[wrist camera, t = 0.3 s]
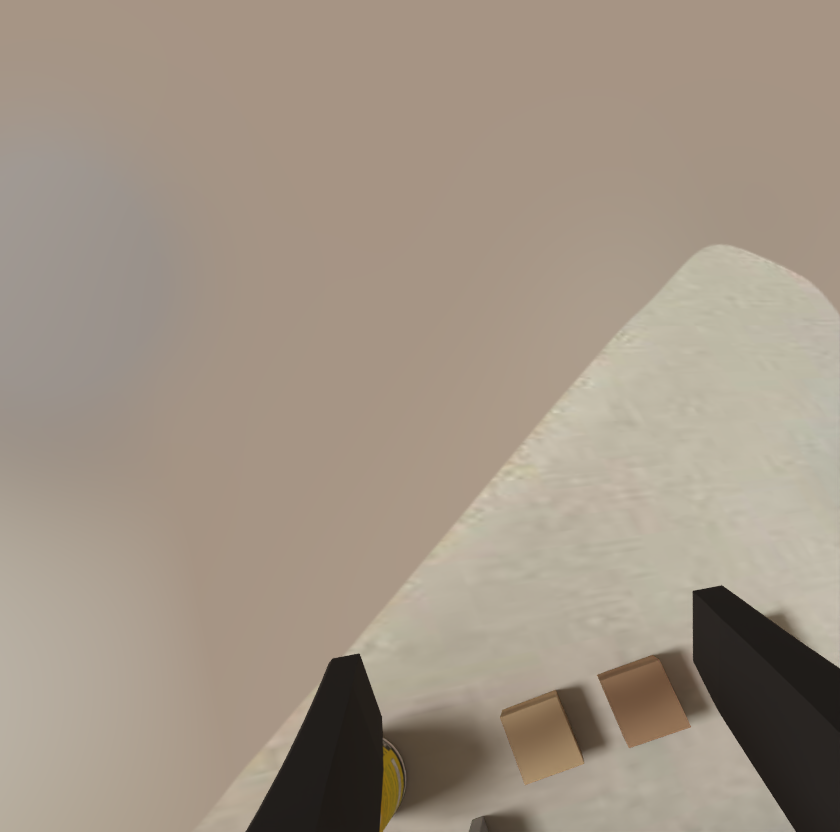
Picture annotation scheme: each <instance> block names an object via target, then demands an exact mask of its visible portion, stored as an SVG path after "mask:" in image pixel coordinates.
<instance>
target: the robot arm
mask: <svg viewBox="0 0 840 832" xmlns="http://www.w3.org/2000/svg"><path fill="white" fill-rule="evenodd" d="M693 662H694V664H695V666H696V668H697V670H698V672H699V674H700V676H701V678H702V680H703V682H704V684H705V686H706V688H707V690H708V692H709V694H710V696H711V698H712V700H713V702H714V703H715V705H716V707H717V709H718V711H719V713H720V714H721V716H722V717H723V719H724V721H725V722H726V724H727V725H728V727H729V729H730V730H731V732H732V733H733V735H734V736H735V738H736V740H737V741H738V743H739V744H740V746H741V747H742V749H743V750H744V752H745V754H746V755H747V757H748V758H749V760H750V761H751V763H752V764H753V766H754V767H755V769H756V771H757V772H758V774H759V775H760V777H761V778H762V780H763V781H764V783H765V784H766V786H767V788H768V789H769V791H770V792H771V794H772V795H773V797H774V798H775V800H776V802H777V803H778V805H779V806H780V808H781V809H782V811H783V812H784V814H785V815H786V817H787V819H788V820H789V822H790V823H791V825H792V826H793V828H794V829H795V831H796V832H840V668H838V667H837V666H835V665H834V664H833V663H831V662H830V661H828V660H827V659H825V658H824V657H822V656H821V655H819V654H818V653H816V652H815V651H813V650H812V649H810V648H809V647H807V646H806V645H805V644H803V643H802V642H800V641H799V640H797V639H796V638H795V637H793V636H792V635H790V634H789V633H787V632H786V631H785V630H783V629H782V628H780V627H779V626H778V625H776V624H775V623H773V622H772V621H771V620H769V619H768V618H767V617H765V616H764V615H762V614H761V613H760V612H758V611H757V610H755V609H754V608H753V607H751V606H750V605H749V604H747V603H746V602H745V601H743V600H742V599H740V598H739V597H738V596H736V595H735V594H733V593H732V592H731V591H729V590H728V589H726V588H725V587H724V586H717V587H711V588H706V589H701V590H695V591H693ZM383 771H384V766H383V732H382V716H381V713H380V710H379V707H378V705H377V702H376V699H375V696H374V693H373V690H372V688H371V685H370V682H369V679H368V676H367V673H366V670H365V668H364V665H363V662H362V659H361V656H360V654H354V655H349V656H344V657H338V658H333V659H332V660H331V661H330V662H329V664H328V667H327V669H326V672H325V674H324V676H323V679H322V681H321V683H320V686H319V688H318V691H317V693H316V695H315V697H314V700H313V702H312V704H311V706H310V709H309V711H308V713H307V715H306V717H305V720H304V722H303V724H302V726H301V728H300V730H299V732H298V734H297V736H296V738H295V741H294V743H293V745H292V747H291V749H290V751H289V753H288V755H287V757H286V759H285V761H284V763H283V765H282V767H281V769H280V771H279V773H278V774H277V776H276V778H275V780H274V782H273V784H272V786H271V787H270V789H269V791H268V793H267V795H266V797H265V798H264V800H263V802H262V804H261V806H260V808H259V810H258V811H257V813H256V815H255V817H254V818H253V820H252V822H251V823H250V825H249V827H248V829H247V830H246V832H379V831H380V817H381V802H382V787H383Z"/></svg>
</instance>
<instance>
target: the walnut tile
mask: <svg viewBox="0 0 840 832" xmlns="http://www.w3.org/2000/svg"><path fill="white" fill-rule="evenodd" d="M597 676H598V678H599V681H600V683H601V685H602V688H603V690H604V692H605V695H606V697H607V699H608V702H609V704H610V706H611V709H612V711H613V713H614V716H615V718H616V720H617V723H618V725H619V727H620V730H621V732H622V734H623V737H624V739H625V741H626V743H627V745H628V747H629V748H631V747H634V746H637V745H640V744H643V743H646V742H649V741H652V740H655V739H657V738H660V737H663V736H666V735H669V734H672V733H675V732H678V731H681V730H684V729H687V728H690V727H691V726H690V724H689V722H688V719H687V717H686V715H685V713H684V711H683V709H682V707H681V705H680V702H679V700H678V698H677V696H676V694H675V692H674V690H673V688H672V686H671V683H670V681H669V679H668V677H667V675H666V673H665V671H664V669H663V666H662V664H661V662H660V660H659V659H657V658H656V657H655V656H653V655H651V656H649V657H646V658H643V659H640V660H637V661H635V662H632V663H629V664H626V665H623V666H621V667H618V668H615V669H612V670H609V671H607V672H604V673H601V674H598V675H597Z"/></svg>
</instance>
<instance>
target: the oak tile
mask: <svg viewBox="0 0 840 832" xmlns="http://www.w3.org/2000/svg"><path fill="white" fill-rule="evenodd" d="M500 719H501V721H502V724H503V727H504V729H505V732H506V735H507V738H508V740H509V743H510V746H511V748H512V751H513V754H514V756H515V759H516V762H517V765H518V767H519V770H520V773H521V775H522V778H523V781H524V783H525V785H527V784H529V783H532V782H535V781H538V780H540V779H543V778H546V777H549V776H552V775H554V774H557V773H560V772H563V771H565V770H568V769H571V768H574V767H576V766H579V765H582V764H584V760H583V756H582V752H581V750H580V747H579V745H578V743H577V740H576V738H575V735H574V733H573V730H572V728H571V726H570V723H569V721H568V718H567V716H566V713H565V711H564V709H563V706H562V704H561V701H560V699H559V696H558V694H557V692H556V690H554V691H552V692H549V693H546V694H544V695H541V696H538V697H536V698H533V699H530V700H528V701H525V702H522V703H520V704H517V705H514V706H512V707H509V708H506V709H504V710H502V713H501V716H500Z"/></svg>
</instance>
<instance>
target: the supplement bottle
mask: <svg viewBox="0 0 840 832" xmlns="http://www.w3.org/2000/svg"><path fill="white" fill-rule="evenodd" d="M383 766H384V771H383V787H382V802H381V817H380V831H379V832H383V830H384V829H385V827H386V826H387V824H388V823H389V821H390V819H391V818H392V816H393V815H394V814H395V812H396V811H397V809H398V807H399V805H400V804H401V802H402V799H403V796H404V793H405V789H406V771H405V767H404V763H403V760H402V758H401V756H400V754H399V752H398V751H397V749H396V748H395V747H394V746H393V745H392V744H391V743H390V742H389V741H388V740H386V739H384V738H383Z"/></svg>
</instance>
